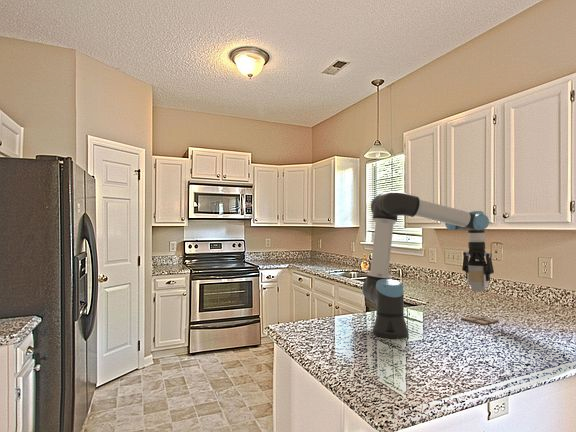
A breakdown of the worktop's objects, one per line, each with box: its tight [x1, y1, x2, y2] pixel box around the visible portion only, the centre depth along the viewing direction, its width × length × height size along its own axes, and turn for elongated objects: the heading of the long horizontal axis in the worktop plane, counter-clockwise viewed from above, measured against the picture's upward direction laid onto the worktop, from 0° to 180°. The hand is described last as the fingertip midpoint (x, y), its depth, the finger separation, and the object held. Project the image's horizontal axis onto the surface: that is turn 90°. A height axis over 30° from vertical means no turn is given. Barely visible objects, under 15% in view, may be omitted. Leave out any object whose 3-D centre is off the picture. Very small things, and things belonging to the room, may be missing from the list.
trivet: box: [460, 314, 499, 326], centre depth 177 cm, size 12×12×1 cm
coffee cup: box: [467, 260, 487, 293], centre depth 179 cm, size 9×9×15 cm
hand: (477, 286), depth 178 cm, fingers closed on coffee cup, 8 cm apart
